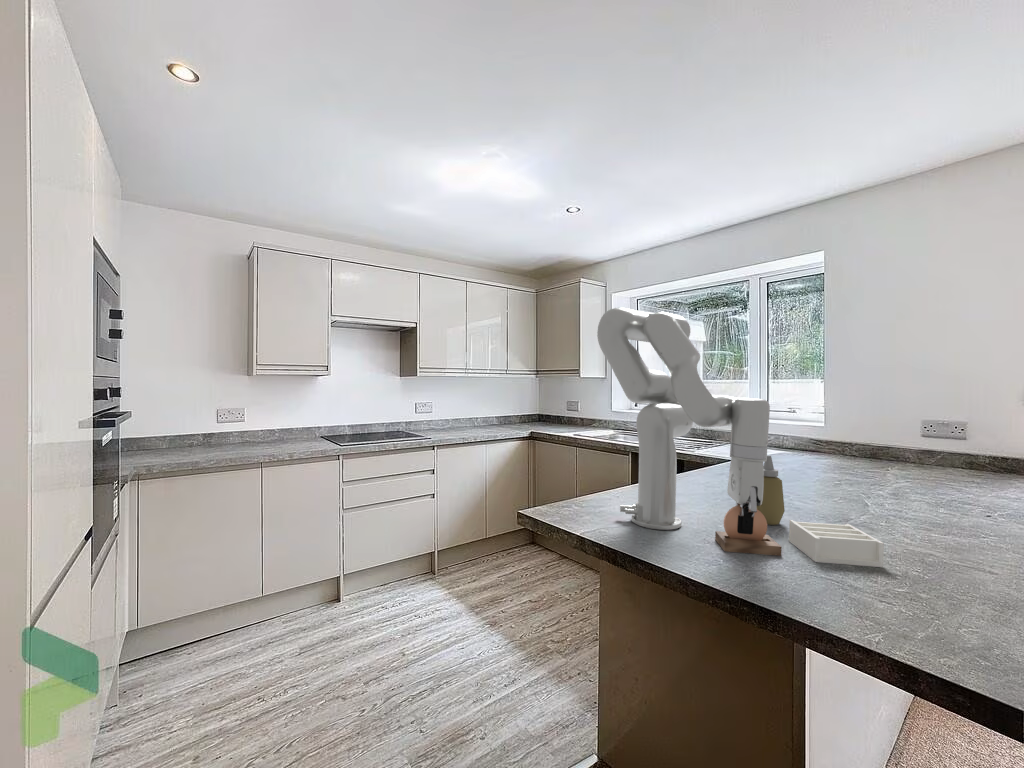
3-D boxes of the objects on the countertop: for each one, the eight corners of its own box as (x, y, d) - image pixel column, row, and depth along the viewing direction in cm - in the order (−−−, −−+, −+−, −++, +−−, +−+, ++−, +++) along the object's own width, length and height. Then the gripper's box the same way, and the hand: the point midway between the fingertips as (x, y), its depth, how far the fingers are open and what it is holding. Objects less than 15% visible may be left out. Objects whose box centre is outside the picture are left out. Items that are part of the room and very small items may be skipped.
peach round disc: (765, 547, 104) (768, 508, 104) (723, 542, 106) (726, 503, 105) (763, 546, 105) (766, 506, 105) (721, 540, 107) (725, 502, 107)
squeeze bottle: (775, 518, 128) (777, 454, 128) (790, 527, 120) (792, 458, 120) (745, 517, 129) (747, 453, 129) (757, 526, 121) (759, 457, 121)
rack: (815, 561, 97) (815, 538, 97) (788, 540, 110) (789, 520, 110) (883, 567, 95) (883, 543, 95) (848, 545, 108) (848, 524, 108)
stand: (724, 551, 102) (724, 542, 102) (715, 539, 110) (715, 531, 110) (781, 555, 100) (781, 546, 100) (767, 543, 108) (767, 534, 108)
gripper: (721, 445, 113) (717, 520, 114) (741, 457, 98) (736, 542, 99) (754, 448, 112) (749, 523, 113) (779, 459, 97) (774, 546, 97)
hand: (743, 531), depth 106 cm, fingers closed on peach round disc, 1 cm apart
